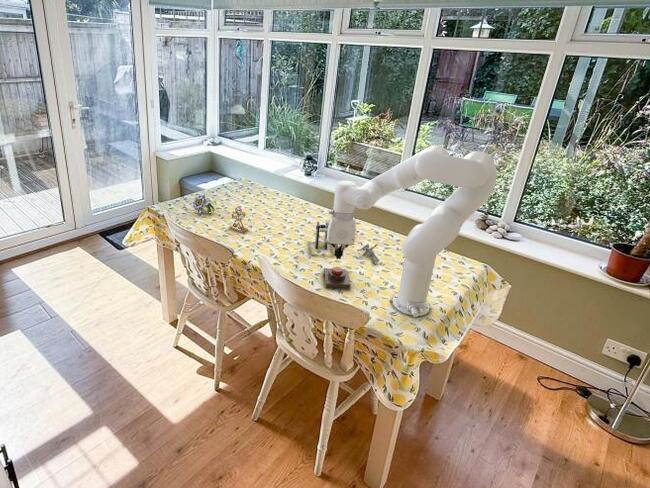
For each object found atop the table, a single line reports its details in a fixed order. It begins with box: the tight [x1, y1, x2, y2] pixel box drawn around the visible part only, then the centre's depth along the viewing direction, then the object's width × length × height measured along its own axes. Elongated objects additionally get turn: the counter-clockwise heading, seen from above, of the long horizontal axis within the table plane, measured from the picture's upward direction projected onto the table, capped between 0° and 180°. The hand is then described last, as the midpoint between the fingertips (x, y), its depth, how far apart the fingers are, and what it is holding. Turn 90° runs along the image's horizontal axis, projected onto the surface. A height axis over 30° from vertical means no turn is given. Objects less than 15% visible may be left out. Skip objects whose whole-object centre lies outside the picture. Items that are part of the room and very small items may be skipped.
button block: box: [323, 267, 351, 290], centre depth 161 cm, size 11×9×4 cm
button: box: [332, 266, 343, 275], centre depth 160 cm, size 4×4×2 cm
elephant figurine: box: [360, 243, 381, 265], centre depth 176 cm, size 10×6×9 cm
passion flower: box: [190, 193, 218, 215], centre depth 221 cm, size 11×11×12 cm
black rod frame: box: [314, 221, 329, 250], centre depth 183 cm, size 12×10×13 cm
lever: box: [319, 224, 327, 233], centre depth 176 cm, size 12×5×2 cm, turn 175°
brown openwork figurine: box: [228, 206, 249, 234], centre depth 200 cm, size 9×4×12 cm, turn 55°
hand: (338, 257), depth 158 cm, fingers closed
